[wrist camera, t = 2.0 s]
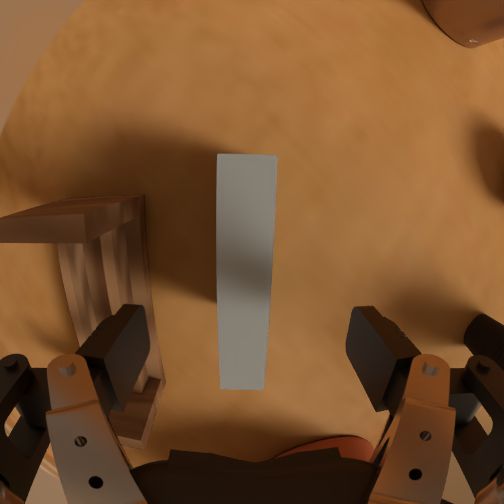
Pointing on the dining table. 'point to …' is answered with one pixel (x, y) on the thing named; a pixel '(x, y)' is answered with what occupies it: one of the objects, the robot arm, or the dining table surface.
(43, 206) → the wooden card holder
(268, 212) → the gray rectangular slab
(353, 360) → the robot arm
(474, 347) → the drinking cup
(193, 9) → the dining table surface
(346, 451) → the potted cactus
